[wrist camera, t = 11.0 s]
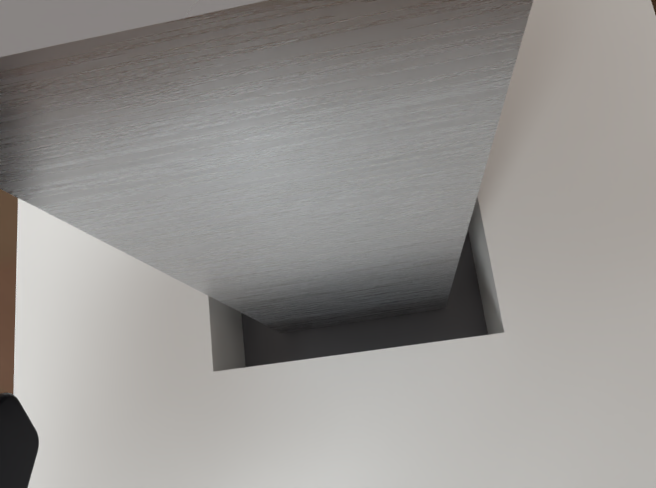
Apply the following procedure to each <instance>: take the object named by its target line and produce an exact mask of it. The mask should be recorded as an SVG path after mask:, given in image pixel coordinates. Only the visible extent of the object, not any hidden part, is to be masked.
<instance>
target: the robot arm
mask: <svg viewBox="0 0 656 488" xmlns="http://www.w3.org/2000/svg"><path fill="white" fill-rule="evenodd" d="M38 448H39V437H38V433H37V431H36V429H35V427H34V425H33V424H32V422H31V420H30V419H29V417H28V415H27V413H26V412H25V410H24V408H23V407H22V405H21V403H20V401H19V400H18V398H17V397H16V396H14V395H13V394H11V393H1V394H0V488H28V485H29V481H30V478H31V474H32V470H33V467H34V463H35V460H36V456H37V453H38Z"/></svg>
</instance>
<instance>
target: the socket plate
mask: <svg viewBox="0 0 656 488" xmlns="http://www.w3.org/2000/svg"><path fill="white" fill-rule="evenodd" d="M14 396H16V397H17V398H18V400H19V401H20V403H21V405H22V407H23V408H24V410H25V412H26V413H27V415H28V417H29V419H30V420H31V422H32V424H33V425H34V427H35V429H36V431H37V433H38V437H39V448H38V453H37V456H36V460H35V463H34V467H33V470H32V474H31V478H30V481H29V485H28V488H656V15H655V12H654V9H653V5H652V2H651V0H533V3H532V7H531V10H530V14H529V17H528V21H527V24H526V28H525V31H524V35H523V38H522V42H521V45H520V49H519V52H518V56H517V59H516V63H515V66H514V70H513V73H512V77H511V80H510V84H509V87H508V91H507V94H506V98H505V101H504V105H503V108H502V112H501V115H500V119H499V122H498V126H497V129H496V133H495V136H494V140H493V143H492V147H491V150H490V154H489V157H488V161H487V164H486V168H485V171H484V175H483V178H482V182H481V185H480V189H479V192H478V196H477V199H476V203H475V206H474V210H473V213H472V217H471V220H470V224H469V227H468V231H467V234H466V238H465V241H464V245H463V248H462V252H461V255H460V259H459V262H458V266H457V269H456V273H455V276H454V280H453V283H452V287H451V290H450V294H449V297H448V301H447V304H446V308H442V309H436V310H429V311H423V312H416V313H410V314H403V315H397V316H390V317H384V318H377V319H371V320H364V321H358V322H351V323H344V324H338V325H331V326H325V327H318V328H312V329H305V330H299V331H292V332H286V333H280V332H278V331H276V330H274V329H272V328H270V327H268V326H266V325H264V324H262V323H260V322H259V321H257V320H255V319H253V318H251V317H249V316H247V315H245V314H243V313H241V312H239V311H237V310H235V309H233V308H231V307H229V306H227V305H225V304H224V303H222V302H220V301H218V300H216V299H214V298H212V297H210V296H208V295H206V294H204V293H202V292H200V291H198V290H196V289H194V288H192V287H190V286H189V285H187V284H185V283H183V282H181V281H179V280H177V279H175V278H173V277H171V276H169V275H167V274H165V273H163V272H161V271H159V270H157V269H155V268H154V267H152V266H150V265H148V264H146V263H144V262H142V261H140V260H138V259H136V258H134V257H132V256H130V255H128V254H126V253H124V252H122V251H120V250H118V249H117V248H115V247H113V246H111V245H109V244H107V243H105V242H103V241H101V240H99V239H97V238H95V237H93V236H91V235H89V234H87V233H85V232H83V231H82V230H80V229H78V228H76V227H74V226H72V225H70V224H68V223H66V222H64V221H62V220H60V219H58V218H56V217H54V216H52V215H50V214H48V213H47V212H45V211H43V210H41V209H39V208H37V207H35V206H33V205H31V204H29V203H27V202H25V201H23V200H21V199H19V198H18V227H17V270H16V313H15V356H14Z"/></svg>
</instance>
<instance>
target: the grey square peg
mask: <svg viewBox="0 0 656 488" xmlns="http://www.w3.org/2000/svg"><path fill="white" fill-rule="evenodd" d="M532 3H533V0H0V189H2V190H4V191H6V192H8V193H10V194H12V195H13V196H15V197H17V198H19V199H21V200H23V201H25V202H27V203H29V204H31V205H33V206H35V207H37V208H39V209H41V210H43V211H45V212H47V213H48V214H50V215H52V216H54V217H56V218H58V219H60V220H62V221H64V222H66V223H68V224H70V225H72V226H74V227H76V228H78V229H80V230H82V231H83V232H85V233H87V234H89V235H91V236H93V237H95V238H97V239H99V240H101V241H103V242H105V243H107V244H109V245H111V246H113V247H115V248H117V249H118V250H120V251H122V252H124V253H126V254H128V255H130V256H132V257H134V258H136V259H138V260H140V261H142V262H144V263H146V264H148V265H150V266H152V267H154V268H155V269H157V270H159V271H161V272H163V273H165V274H167V275H169V276H171V277H173V278H175V279H177V280H179V281H181V282H183V283H185V284H187V285H189V286H190V287H192V288H194V289H196V290H198V291H200V292H202V293H204V294H206V295H208V296H210V297H212V298H214V299H216V300H218V301H220V302H222V303H224V304H225V305H227V306H229V307H231V308H233V309H235V310H237V311H239V312H241V313H243V314H245V315H247V316H249V317H251V318H253V319H255V320H257V321H259V322H260V323H262V324H264V325H266V326H268V327H270V328H272V329H274V330H276V331H278V332H280V333H286V332H292V331H299V330H305V329H312V328H318V327H325V326H331V325H338V324H344V323H351V322H358V321H364V320H371V319H377V318H384V317H390V316H397V315H403V314H410V313H416V312H423V311H429V310H436V309H442V308H446V304H447V301H448V297H449V294H450V290H451V287H452V283H453V280H454V276H455V273H456V269H457V266H458V262H459V259H460V255H461V252H462V248H463V245H464V241H465V238H466V234H467V231H468V227H469V224H470V220H471V217H472V213H473V210H474V206H475V203H476V199H477V196H478V192H479V189H480V185H481V182H482V178H483V175H484V171H485V168H486V164H487V161H488V157H489V154H490V150H491V147H492V143H493V140H494V136H495V133H496V129H497V126H498V122H499V119H500V115H501V112H502V108H503V105H504V101H505V98H506V94H507V91H508V87H509V84H510V80H511V77H512V73H513V70H514V66H515V63H516V59H517V56H518V52H519V49H520V45H521V42H522V38H523V35H524V31H525V28H526V24H527V21H528V17H529V14H530V10H531V7H532Z"/></svg>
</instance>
